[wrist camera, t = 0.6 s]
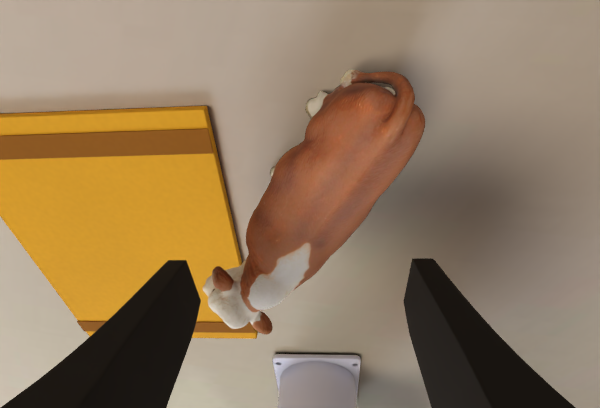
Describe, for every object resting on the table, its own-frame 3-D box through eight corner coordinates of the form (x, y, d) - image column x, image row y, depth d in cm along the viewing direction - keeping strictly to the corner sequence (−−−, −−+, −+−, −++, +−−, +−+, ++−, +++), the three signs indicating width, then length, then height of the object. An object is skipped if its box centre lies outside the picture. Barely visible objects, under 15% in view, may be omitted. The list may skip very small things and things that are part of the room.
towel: (257, 332, 28) (256, 339, 28) (93, 330, 29) (89, 338, 29) (207, 105, 17) (203, 109, 16) (-62, 115, 18) (-74, 120, 17)
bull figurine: (218, 217, 21) (171, 330, 14) (354, 24, 14) (385, 70, 8) (274, 247, 22) (256, 363, 16) (424, 84, 16) (502, 167, 9)
